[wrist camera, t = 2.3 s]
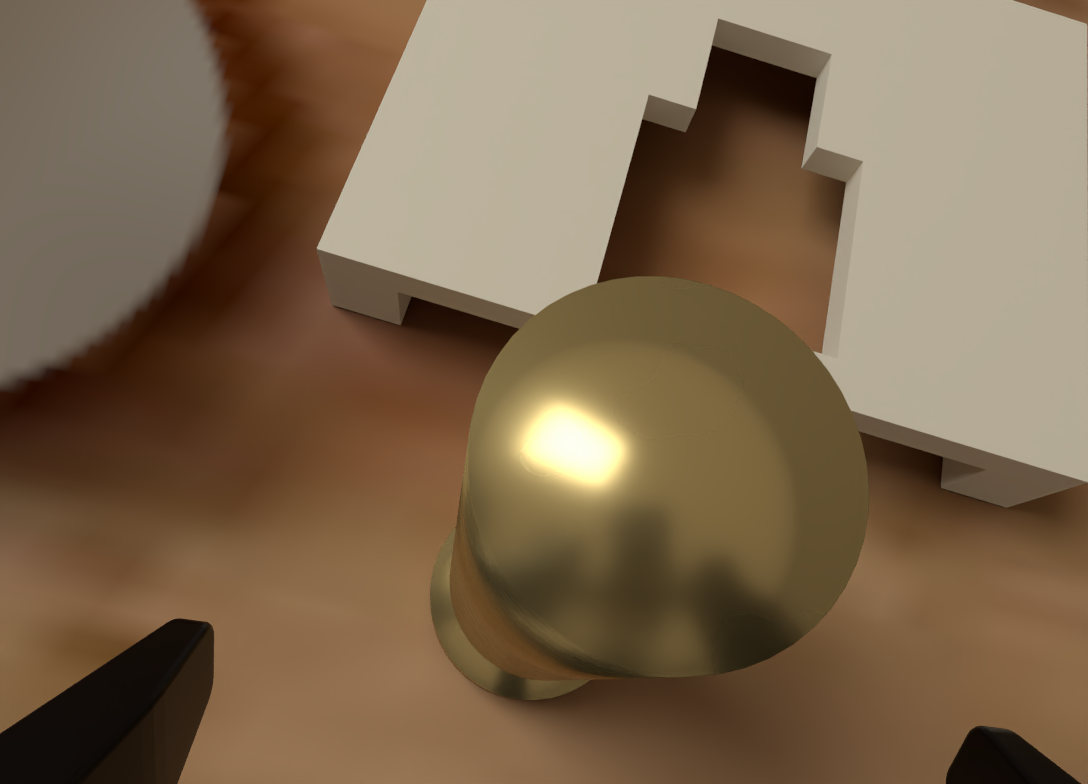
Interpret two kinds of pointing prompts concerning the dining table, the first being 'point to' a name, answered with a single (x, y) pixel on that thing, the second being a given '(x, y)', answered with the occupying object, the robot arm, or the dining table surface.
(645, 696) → the dining table surface
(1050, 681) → the dining table surface
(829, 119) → the keyhole plate
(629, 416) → the brass peg
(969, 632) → the dining table surface
